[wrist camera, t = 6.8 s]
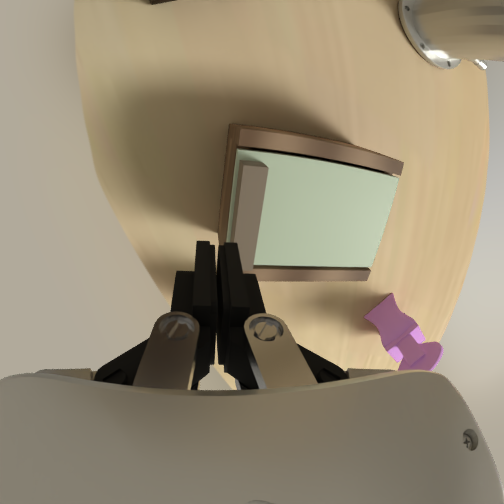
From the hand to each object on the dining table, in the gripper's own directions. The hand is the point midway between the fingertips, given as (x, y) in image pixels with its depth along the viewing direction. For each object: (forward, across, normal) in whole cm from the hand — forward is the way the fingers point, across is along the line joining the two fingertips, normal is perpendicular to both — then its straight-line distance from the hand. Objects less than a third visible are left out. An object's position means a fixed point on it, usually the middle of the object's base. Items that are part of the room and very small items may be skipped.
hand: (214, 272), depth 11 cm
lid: (+10, -8, +1) cm, 13 cm away
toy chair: (+18, -31, +21) cm, 42 cm away
